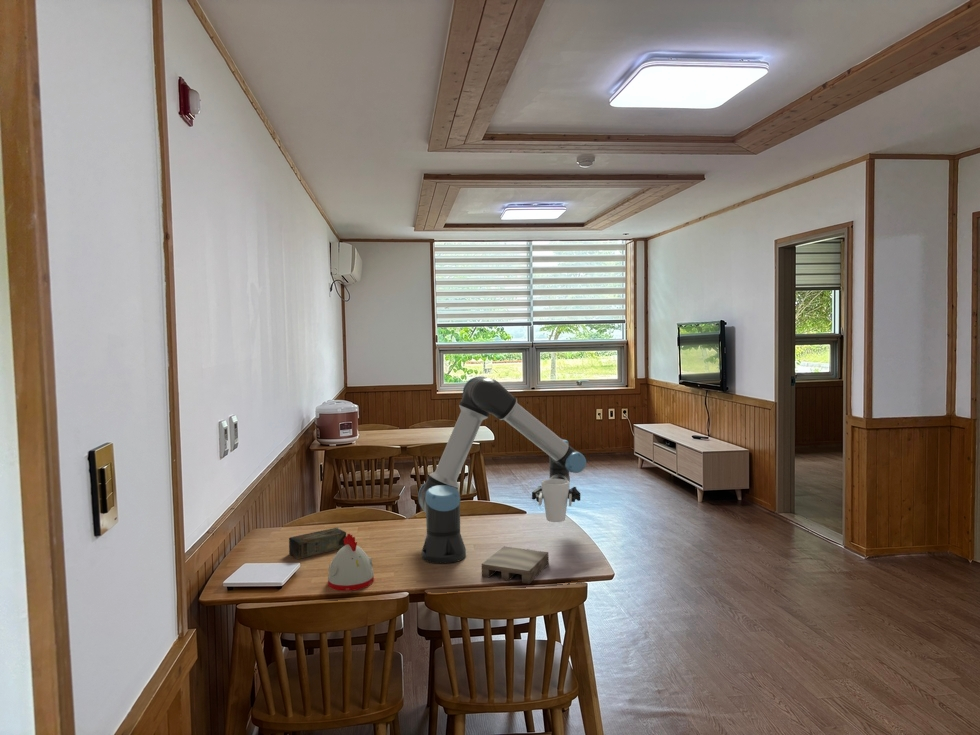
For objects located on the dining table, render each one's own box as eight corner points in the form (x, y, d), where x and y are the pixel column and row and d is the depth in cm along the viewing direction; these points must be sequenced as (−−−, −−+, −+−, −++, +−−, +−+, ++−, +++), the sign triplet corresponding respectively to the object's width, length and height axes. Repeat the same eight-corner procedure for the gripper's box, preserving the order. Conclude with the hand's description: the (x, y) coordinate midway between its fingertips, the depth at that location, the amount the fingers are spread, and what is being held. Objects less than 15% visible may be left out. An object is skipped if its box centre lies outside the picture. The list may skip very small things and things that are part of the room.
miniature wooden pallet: (529, 583, 192) (529, 570, 191) (481, 576, 198) (481, 563, 198) (548, 564, 208) (548, 552, 208) (504, 557, 215) (503, 546, 214)
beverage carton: (347, 547, 229) (347, 529, 229) (297, 560, 216) (296, 541, 216) (337, 542, 235) (336, 525, 235) (287, 555, 222) (287, 536, 222)
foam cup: (575, 520, 214) (575, 482, 213) (555, 525, 208) (555, 486, 208) (556, 514, 222) (555, 477, 221) (536, 518, 216) (535, 481, 215)
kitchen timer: (338, 594, 186) (337, 544, 185) (321, 580, 197) (319, 533, 197) (381, 583, 194) (380, 535, 194) (362, 570, 205) (361, 525, 205)
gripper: (588, 497, 231) (588, 513, 209) (528, 495, 234) (522, 512, 212) (588, 476, 230) (588, 491, 208) (528, 475, 234) (521, 490, 212)
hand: (554, 501), depth 210 cm, fingers closed on foam cup, 9 cm apart
